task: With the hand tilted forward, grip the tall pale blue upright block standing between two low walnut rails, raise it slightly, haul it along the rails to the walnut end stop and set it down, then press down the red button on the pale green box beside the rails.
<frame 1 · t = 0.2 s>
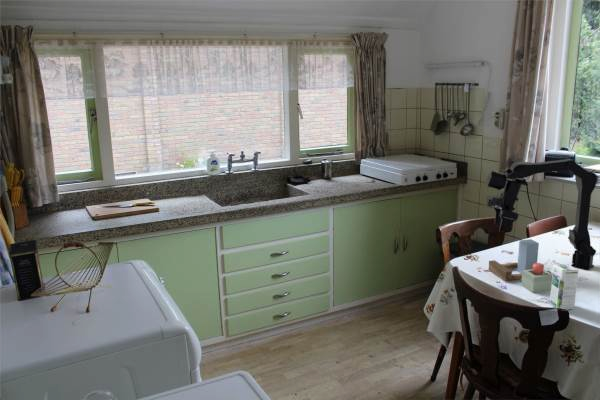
hand: (498, 228, 211), 16 cm above the table, tool pointing down, fingers open, 9 cm apart
rails: (521, 273, 205), on the table
gauge button: (538, 268, 189), point 8 cm above the table, slide at 0.0 cm
pale blue upright block: (526, 272, 205), on the table
syrup box: (561, 307, 176), on the table
end stop: (499, 275, 203), on the table
pale green box: (536, 287, 191), on the table
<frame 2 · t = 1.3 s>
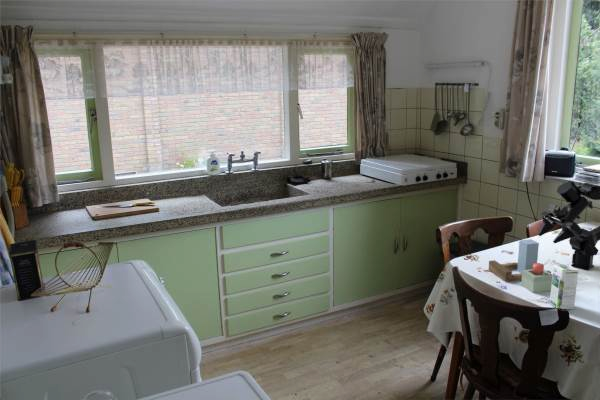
hand: (546, 239, 203), 13 cm above the table, tool tilted 45°, fingers open, 9 cm apart
nothing on the table moved.
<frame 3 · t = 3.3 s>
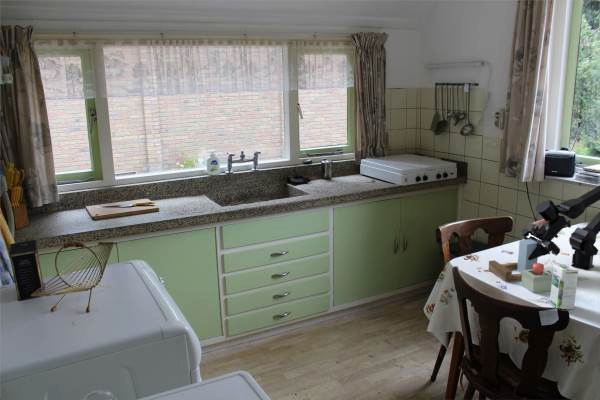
hand: (524, 257, 203), 7 cm above the table, tool tilted 45°, fingers closed on pale blue upright block, 5 cm apart
pale blue upright block: (526, 272, 205), on the table, touching gripper
everything else where it was.
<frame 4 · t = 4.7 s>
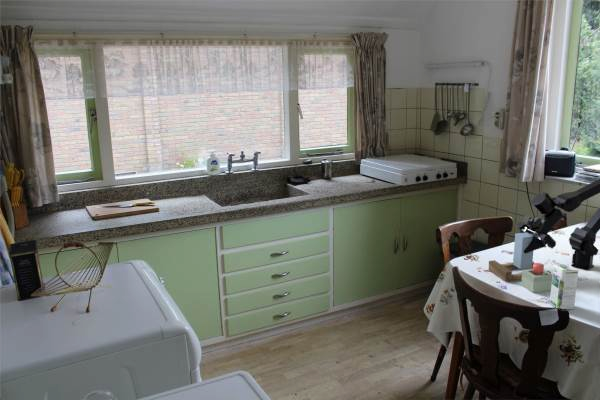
hand: (520, 250, 202), 10 cm above the table, tool tilted 45°, fingers closed on pale blue upright block, 5 cm apart
pale blue upright block: (522, 266, 204), point 3 cm above the table, touching gripper
everything else where it was.
when the fingers open (7 cm above the table, at t = 6.5 s): pale blue upright block stays where it is, on the table.
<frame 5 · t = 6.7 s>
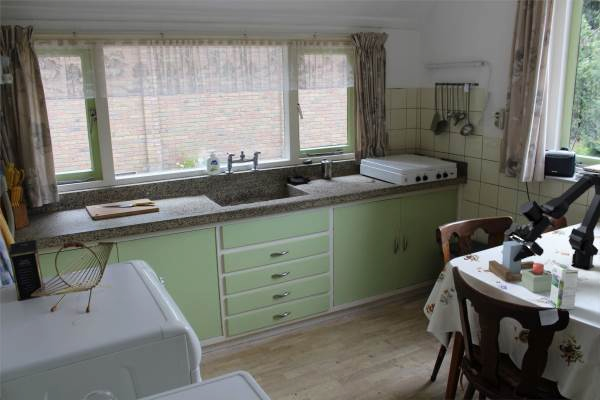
hand: (508, 257, 202), 7 cm above the table, tool tilted 45°, fingers open, 7 cm apart
pale blue upright block: (510, 274, 204), on the table
everything else where it was.
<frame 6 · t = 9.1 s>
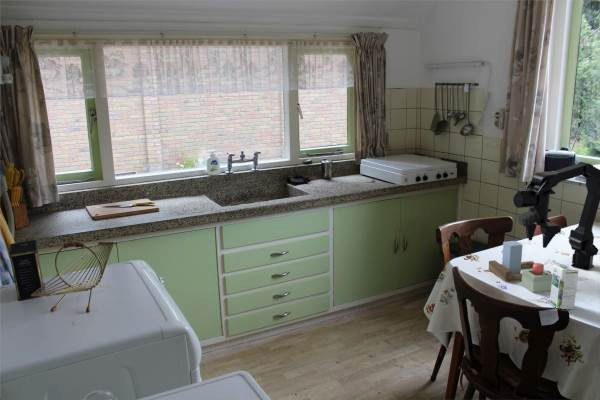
hand: (537, 244, 202), 12 cm above the table, tool pointing down, fingers open, 9 cm apart
nothing on the table moved.
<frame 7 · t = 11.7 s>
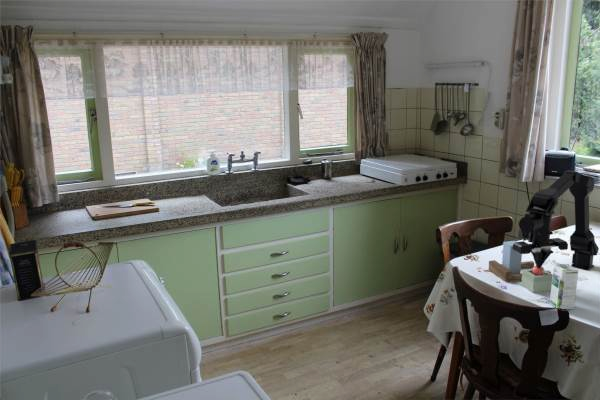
hand: (538, 267, 189), 8 cm above the table, tool pointing down, fingers closed, pressing on gauge button
gauge button: (538, 271, 189), point 6 cm above the table, slide at 1.2 cm, touching gripper
everything else where it was.
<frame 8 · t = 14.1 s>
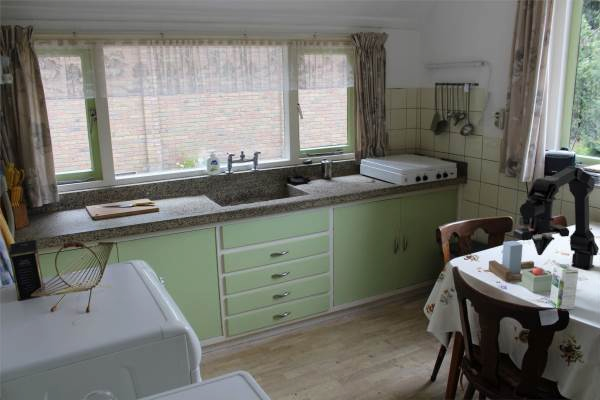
hand: (539, 254, 188), 13 cm above the table, tool pointing down, fingers closed
gauge button: (537, 273, 190), point 6 cm above the table, slide at 1.8 cm
everything else where it was.
at the end: pale blue upright block 4.9 cm from the end stop (horizontally); pale blue upright block tilted 0°; gauge button slide at 1.8 cm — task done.
